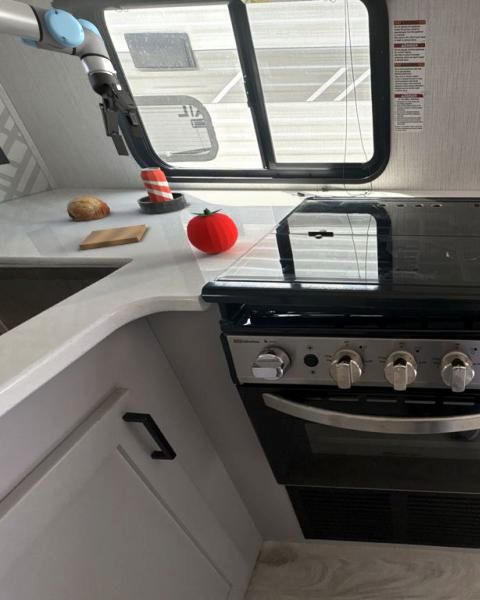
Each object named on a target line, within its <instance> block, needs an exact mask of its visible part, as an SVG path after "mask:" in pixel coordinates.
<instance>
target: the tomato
mask: <svg viewBox="0 0 480 600" xmlns="http://www.w3.org/2000/svg"><path fill="white" fill-rule="evenodd" d="M221 210H222V208H219V209H217V210H214V211H211V210H210V209H209V208H207V207H206V208H205V209H203V210H202V211H203V212H202V213H201V212H191V214H192V215H196V216H194V217H192V218H191V219H190V220H188V223H187V225H186V236H187V240H188V241H189V243H190V244H191V246H193V247H194V248H195V249H197V250H198V251H201V252H203V253H206V254H212V255H213V254H214V255H215V254H222V253H225V252H226V251H229V250H230V249H232V247H234V245H236V242H237V240H238V239H239V238H238V237H239V230H238V227H237V225H236V224H235V223H236V222H234V220H233V219H232V218H231V217H230V216H228V215H227V214H225V213H221V212H220V211H221Z"/></svg>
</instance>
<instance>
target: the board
mask: <svg viewBox="0 0 480 600" xmlns="http://www.w3.org/2000/svg"><path fill="white" fill-rule="evenodd" d="M146 231H147V225H146V224H138V225H130V226H122V227H114V228H106V229H98V230H92V231H91V232H90V233H89V234H88V235H87V236H86V237H85V238H84V239H83V240H82V241H81V242H80V243H79V244H78V247H79V248H80V250H88V249H90V250H91V249H97V248H103V247H111V246H117V245H125V244H132V243H138V242H140V240H141V239H142V238H143V236H144V234H145V232H146Z"/></svg>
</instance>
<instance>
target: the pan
mask: <svg viewBox="0 0 480 600" xmlns="http://www.w3.org/2000/svg"><path fill="white" fill-rule="evenodd" d="M171 193H172V196H173V199H172V200H168V201H162V202H151V200H150V198H149V195H146V196H141V197H140V198H138V199H137V200H136V202H137V203H138V204H137V205H138V206H139V208H140V211H141V212H142V213H143V214H147V215H157V214H166V213H167V214H168V213H172V212H177V211H180V210H183V209H185V208H187V207H188V200H187V198H186V195H185V193H183V192H176V191H175V192H174V191H173V192H172V191H171Z"/></svg>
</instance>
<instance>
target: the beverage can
mask: <svg viewBox="0 0 480 600" xmlns="http://www.w3.org/2000/svg"><path fill="white" fill-rule="evenodd" d="M139 176H140V178H141V181H142V183H143V186H144V188H145V191H146V193H147V196H149V198H150V200H151V202H162V201H168V200H172V199H173V196H172V190H171V188H170V185H169V182H168V180H167V177H166V175H165V173H164V171H162V170H161V168H160V167H159V166H158V167H153V166H152V167H145V168H142V169H140V174H139Z"/></svg>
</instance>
